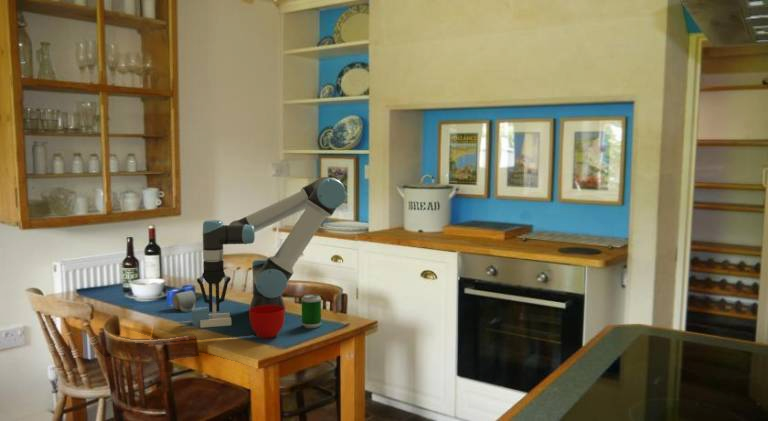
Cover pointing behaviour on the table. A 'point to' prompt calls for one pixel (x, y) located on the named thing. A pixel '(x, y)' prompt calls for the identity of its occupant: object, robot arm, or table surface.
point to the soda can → (311, 311)
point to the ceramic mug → (184, 301)
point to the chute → (212, 321)
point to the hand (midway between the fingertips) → (214, 319)
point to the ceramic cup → (267, 320)
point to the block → (199, 315)
